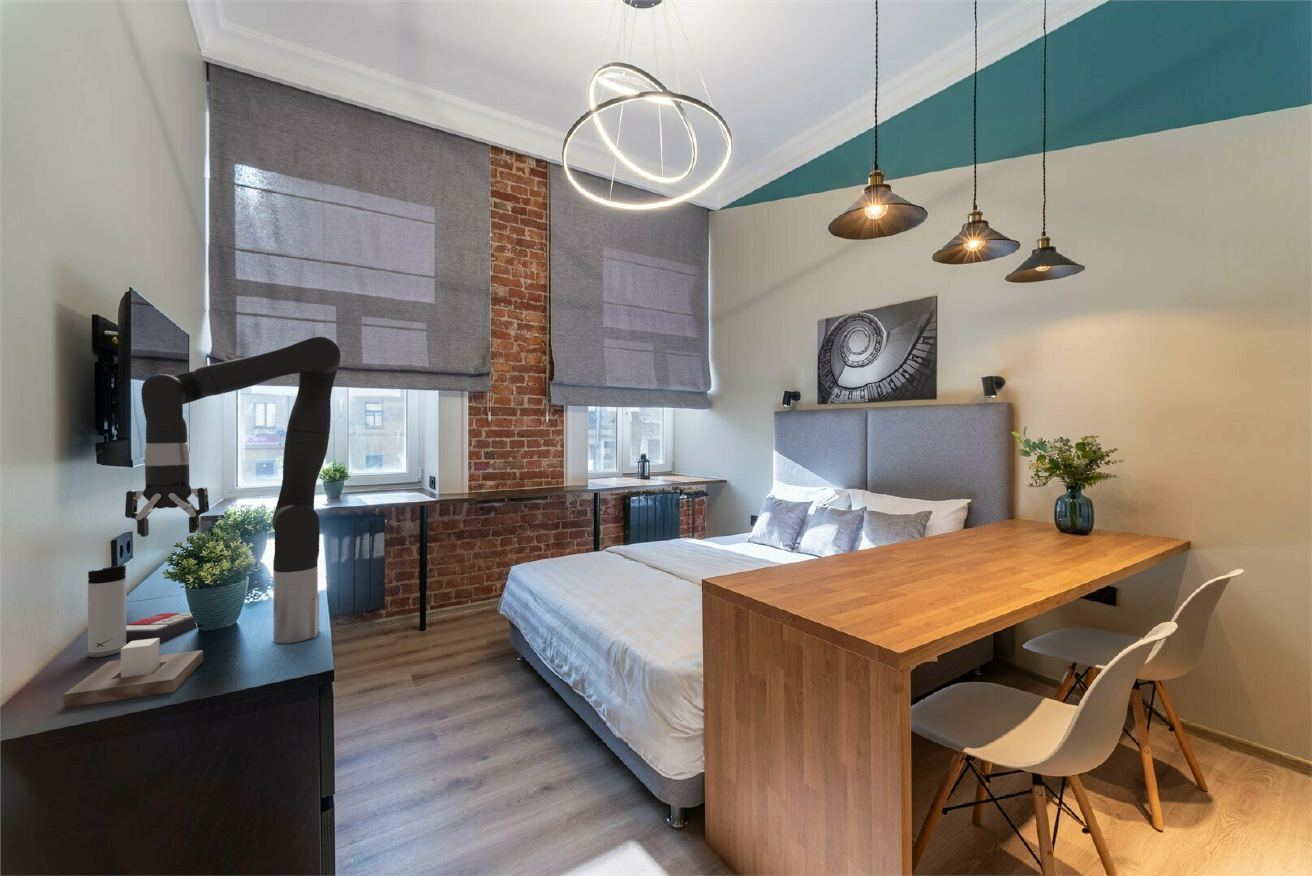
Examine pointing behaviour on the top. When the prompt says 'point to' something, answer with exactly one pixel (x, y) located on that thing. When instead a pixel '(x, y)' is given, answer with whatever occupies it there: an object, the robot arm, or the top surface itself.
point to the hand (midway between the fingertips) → (168, 534)
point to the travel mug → (106, 611)
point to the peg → (140, 657)
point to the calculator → (160, 627)
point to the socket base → (133, 680)
